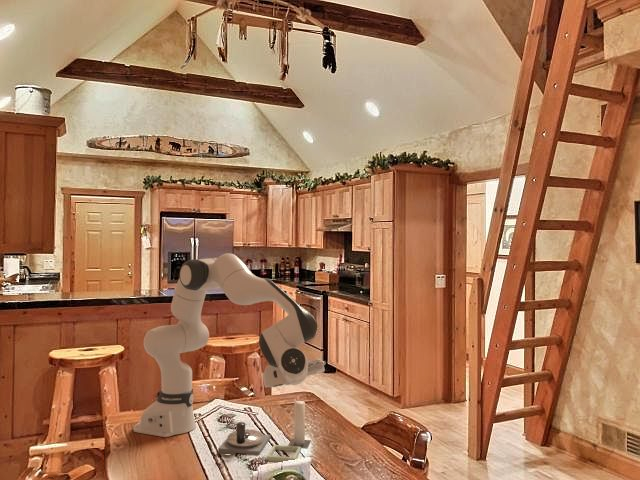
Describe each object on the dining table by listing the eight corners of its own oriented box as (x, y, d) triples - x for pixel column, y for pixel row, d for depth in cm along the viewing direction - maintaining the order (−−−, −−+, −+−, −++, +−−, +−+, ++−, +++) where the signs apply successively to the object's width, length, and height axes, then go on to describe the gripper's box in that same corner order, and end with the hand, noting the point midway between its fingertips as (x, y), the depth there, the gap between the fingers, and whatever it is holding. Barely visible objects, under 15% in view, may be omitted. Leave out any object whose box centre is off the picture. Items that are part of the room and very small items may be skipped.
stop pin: (293, 445, 168) (293, 404, 168) (295, 441, 172) (295, 400, 172) (303, 446, 167) (303, 404, 168) (305, 441, 171) (305, 401, 171)
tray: (266, 463, 156) (266, 456, 156) (273, 451, 165) (274, 444, 165) (295, 465, 155) (295, 458, 155) (300, 453, 164) (300, 446, 164)
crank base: (218, 454, 163) (218, 447, 163) (232, 438, 176) (232, 431, 176) (259, 457, 160) (259, 451, 160) (270, 440, 174) (270, 434, 174)
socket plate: (287, 449, 167) (287, 446, 167) (291, 441, 174) (291, 438, 174) (307, 451, 166) (307, 448, 166) (311, 443, 172) (311, 440, 172)
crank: (221, 446, 163) (222, 424, 163) (234, 432, 175) (234, 411, 175) (257, 449, 161) (257, 426, 161) (267, 435, 173) (267, 413, 173)
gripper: (323, 351, 157) (321, 359, 169) (259, 368, 154) (262, 375, 166) (328, 371, 154) (326, 377, 167) (264, 388, 151) (266, 394, 164)
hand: (294, 376), depth 167 cm, fingers open, 8 cm apart
